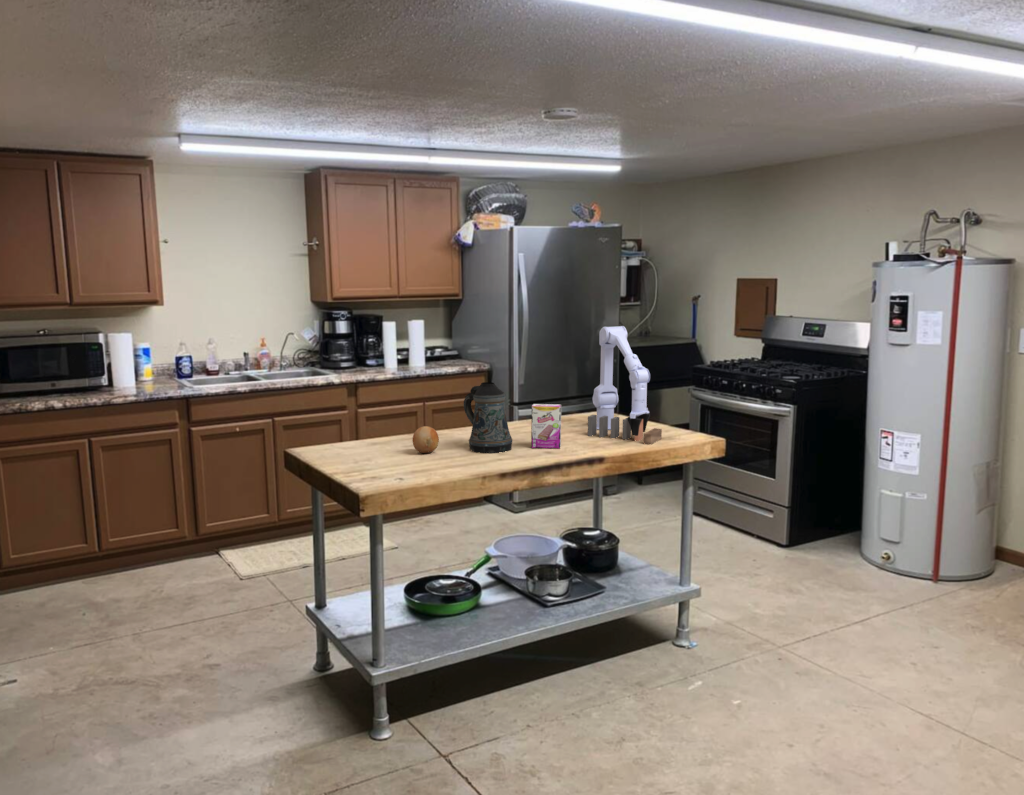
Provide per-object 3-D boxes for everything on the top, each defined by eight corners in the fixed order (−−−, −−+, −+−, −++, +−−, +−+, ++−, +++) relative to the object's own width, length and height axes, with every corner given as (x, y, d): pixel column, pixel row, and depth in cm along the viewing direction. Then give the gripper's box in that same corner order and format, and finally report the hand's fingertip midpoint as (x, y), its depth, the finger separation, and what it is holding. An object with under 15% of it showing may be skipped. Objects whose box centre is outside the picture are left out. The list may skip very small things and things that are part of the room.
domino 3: (610, 438, 320) (610, 418, 318) (615, 436, 324) (615, 416, 323) (614, 438, 319) (614, 419, 317) (619, 436, 323) (619, 417, 322)
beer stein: (508, 454, 294) (508, 386, 290) (456, 452, 297) (455, 386, 293) (515, 444, 310) (515, 380, 306) (466, 443, 313) (465, 379, 309)
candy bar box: (531, 448, 303) (530, 405, 300) (532, 445, 307) (531, 403, 305) (560, 449, 301) (560, 406, 299) (561, 446, 306) (561, 403, 304)
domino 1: (587, 436, 324) (587, 416, 323) (592, 433, 329) (592, 414, 327) (591, 436, 324) (591, 416, 322) (596, 434, 328) (596, 414, 327)
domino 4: (622, 439, 317) (622, 419, 316) (627, 437, 321) (627, 417, 320) (626, 440, 316) (626, 420, 315) (630, 437, 321) (631, 418, 319)
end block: (643, 443, 309) (643, 433, 308) (654, 438, 319) (654, 428, 319) (650, 444, 308) (651, 434, 307) (661, 438, 318) (661, 428, 317)
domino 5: (634, 440, 315) (634, 420, 313) (639, 438, 319) (639, 418, 318) (638, 441, 314) (638, 421, 313) (642, 438, 318) (643, 419, 317)
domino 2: (599, 437, 322) (599, 417, 321) (604, 434, 326) (604, 415, 325) (602, 437, 321) (603, 418, 320) (607, 435, 325) (607, 415, 324)
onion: (419, 457, 290) (419, 430, 289) (408, 452, 299) (407, 425, 297) (443, 453, 295) (443, 427, 294) (431, 448, 304) (431, 422, 302)
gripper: (642, 403, 306) (641, 438, 308) (655, 397, 318) (654, 431, 320) (625, 401, 309) (624, 436, 311) (638, 396, 322) (638, 429, 324)
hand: (638, 433), depth 316 cm, fingers open, 7 cm apart
